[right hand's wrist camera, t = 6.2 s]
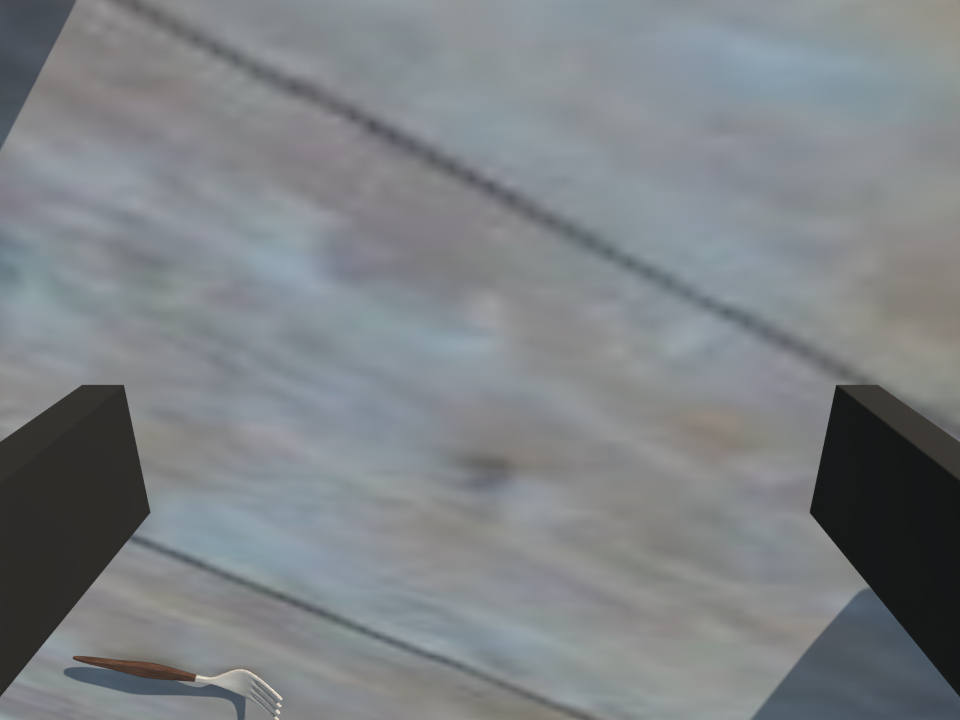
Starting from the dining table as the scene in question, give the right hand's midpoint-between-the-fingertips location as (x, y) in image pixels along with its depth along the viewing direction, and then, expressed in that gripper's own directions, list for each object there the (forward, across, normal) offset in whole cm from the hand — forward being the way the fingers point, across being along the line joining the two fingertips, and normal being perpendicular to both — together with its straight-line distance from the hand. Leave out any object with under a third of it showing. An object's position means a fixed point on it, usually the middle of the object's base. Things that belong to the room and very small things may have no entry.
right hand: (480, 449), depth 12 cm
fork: (+28, +23, +34) cm, 50 cm away
